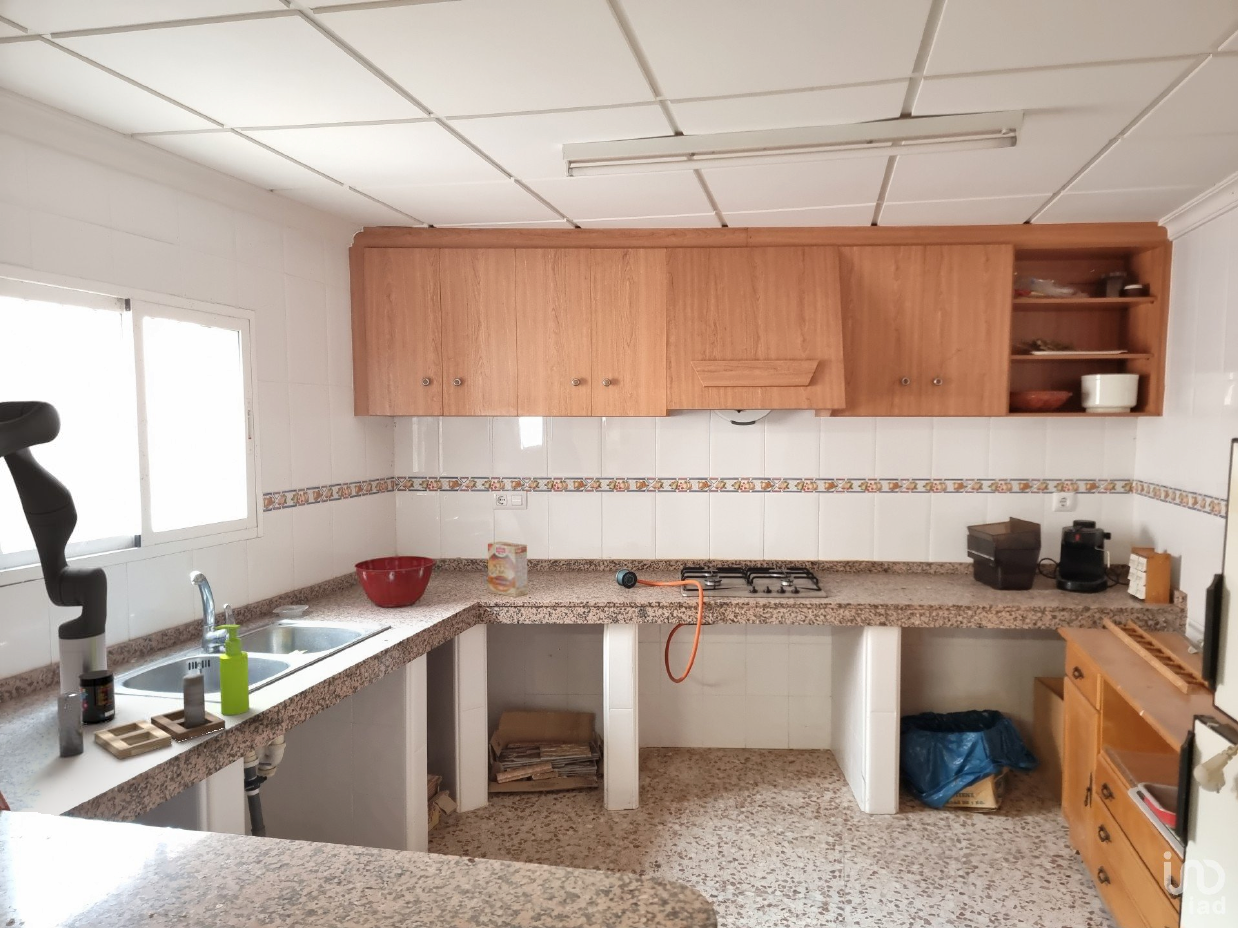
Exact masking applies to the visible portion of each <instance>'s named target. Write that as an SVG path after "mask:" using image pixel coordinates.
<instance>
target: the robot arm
mask: <svg viewBox="0 0 1238 928" xmlns="http://www.w3.org/2000/svg"><path fill="white" fill-rule="evenodd" d="M59 413H60V412H59V410H58V409H57V408H56V407H55V406H54V404H52V403H50V402H47V401H42V400H20V401H19V400H17V401H16V400H14V401H0V458H3V459H4V461H5V464H6V466H7V468H8V470H9V472H10V476H11V477H12V479H13V483H14V485H15V487H16V491H17V494H18V497H19V500H20V503H21V507H22V511H23V514H24V516H25V519H26V522H27V525H28V527H29V530H30V532H31V535H32V537H33V541H34V544H35V547H36V551H37V554H38V558H39V562H40V565H41V567H40V568H41V571H42V576H43V581H44V585H45V589H46V593H47V595H48V598H49V600H50V601H51V603H52V604H53V605H54V606H57V607H61V608H62V607H65V608H66V607H67V608H70V607H72V608H73V607H81V608H82V609H81V614H80V615H79V616H78V617H75V618H74V619H70V620H68V621H64V622H63V623H61V624H60V625H59V626H58V629H57V631H58V632H57V635H58V651H59V653H58V656H59V657H58V658H59V674H60V675H59V677H60V679H59V680H60V695H61V694H64V693H69V692H79V676H80V675H82V674H84V673H88V672H92V671H98V670H108V663H107V660H108V659H107V641H106V640H107V639H106V623H107V616H108V615H107V614H108V607H107V606H108V580H107V579H108V578H107V575H106V572H105V571H104V569H103V568H102V567H99V566H70V565H69V564H68V562H67V560H66V559H67V558H66V546H67V544H68V542H69V540H70V538H71V536H72V535H73V532H74V531H75V528H76V525H77V522H78V514H77V513H78V512H77V508H76V505H75V502H74V499H73V496H72V493H71V491H70V489H69V488H68V487H67V485H66V484H64V483H63V482H62V480H60V479H59V478H58V477H57V476H56V475H54V474H53V473H52V472H51V471H50V470H48V469H47V468H46V467H45V466H44V465H43V464H42V463H40V461H38V460H37V458H36V456H35V455H34V454H33V452H32V450H31V448H30V447H34V446H37V445H45V444H47V443H48V444H49V443H50V442H53V441H54V440H55V439H56V438H57V437H58V436H59V434H60V431H61V425H62V424H61V417H60V416H61V415H60V414H59Z"/></svg>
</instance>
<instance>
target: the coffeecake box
mask: <svg viewBox="0 0 1238 928" xmlns="http://www.w3.org/2000/svg"><path fill="white" fill-rule="evenodd" d="M527 547H528V545H527V544H522V543H515V542H508V541H507V542H506V541H495V542H494V541H492V542H488V543H487V577H488V579H487V580H488V583H487V584H488V586H487V587H488V592H487V593H489V594H490V593H491V594H494V595H495V594H497V595H500V596H501V595H502V596H507V597H512V598H517V597H521V596H522V597H523V596H525V595H528V548H527Z"/></svg>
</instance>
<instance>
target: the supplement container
mask: <svg viewBox="0 0 1238 928" xmlns="http://www.w3.org/2000/svg"><path fill="white" fill-rule="evenodd" d="M79 692H81V701H82V724H84V725H98V724H99V725H100V724H103V723H106V722H109V721H111V720H113V719H114V718H115V716H116V697H115V695H116V694H115V693H116V692H115V671H114V670H111V669H107V670H98V671H92V672H88V673H84V674H82V675H80V676H79Z"/></svg>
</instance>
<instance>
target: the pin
mask: <svg viewBox="0 0 1238 928" xmlns="http://www.w3.org/2000/svg"><path fill="white" fill-rule="evenodd" d="M56 699H57V700H56V701H57V720H58V722H57V725H58V726H57V727H58V740H59V741H58V745H59V746H58V748H59V757H60V758H72V757H76V756H79V755H81V754H83V753H84V751H85V750H84V733H83V731H84V729H83V723H82V701H81V692H69V693H64V694H61V693H60V694H59V695H58V696H57V698H56Z"/></svg>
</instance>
